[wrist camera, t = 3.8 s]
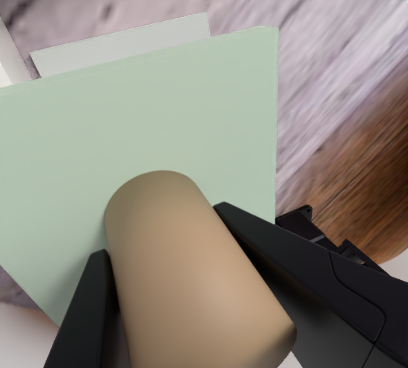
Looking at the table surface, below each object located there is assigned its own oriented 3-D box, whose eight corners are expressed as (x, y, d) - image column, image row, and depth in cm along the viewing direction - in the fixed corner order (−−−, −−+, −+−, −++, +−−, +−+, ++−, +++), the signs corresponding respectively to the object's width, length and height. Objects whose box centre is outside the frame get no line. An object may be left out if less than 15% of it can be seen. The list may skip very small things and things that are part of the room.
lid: (264, 237, 13) (364, 358, 9) (71, 322, 11) (77, 534, 7) (262, 24, 8) (510, 66, 4) (-109, 113, 6) (-606, 472, 2)
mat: (222, 153, 23) (225, 155, 23) (100, 196, 21) (101, 199, 20) (204, 11, 17) (207, 11, 17) (29, 51, 15) (29, 52, 14)
